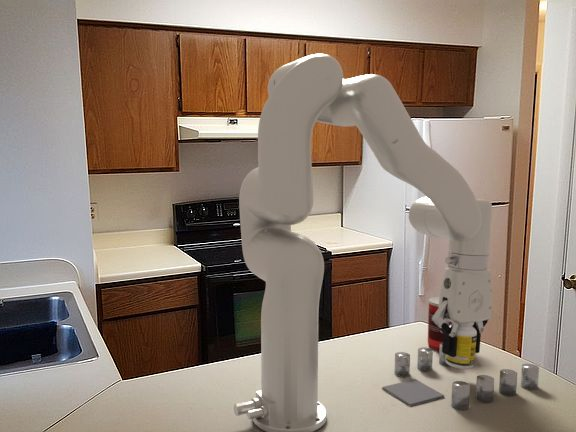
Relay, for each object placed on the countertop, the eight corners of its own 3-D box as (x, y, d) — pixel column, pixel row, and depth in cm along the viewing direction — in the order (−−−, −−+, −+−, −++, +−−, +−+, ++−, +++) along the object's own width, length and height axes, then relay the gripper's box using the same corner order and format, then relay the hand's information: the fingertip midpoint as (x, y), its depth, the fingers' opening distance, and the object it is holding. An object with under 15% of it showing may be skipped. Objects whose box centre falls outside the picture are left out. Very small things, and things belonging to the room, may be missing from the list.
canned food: (457, 341, 129) (459, 296, 128) (465, 353, 121) (467, 305, 120) (424, 340, 130) (426, 295, 128) (430, 352, 122) (431, 304, 121)
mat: (410, 406, 95) (410, 404, 95) (382, 388, 102) (382, 386, 102) (444, 397, 99) (444, 395, 99) (415, 380, 106) (415, 379, 106)
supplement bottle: (474, 371, 102) (478, 321, 101) (444, 367, 104) (448, 317, 103) (474, 362, 107) (477, 314, 107) (446, 357, 109) (449, 310, 108)
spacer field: (460, 411, 94) (461, 389, 93) (391, 372, 110) (391, 353, 110) (541, 387, 103) (542, 367, 103) (466, 355, 120) (467, 337, 119)
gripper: (448, 267, 97) (441, 365, 98) (514, 263, 104) (506, 353, 106) (419, 260, 103) (413, 352, 105) (484, 256, 111) (477, 341, 113)
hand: (460, 351), depth 106 cm, fingers closed on supplement bottle, 5 cm apart
